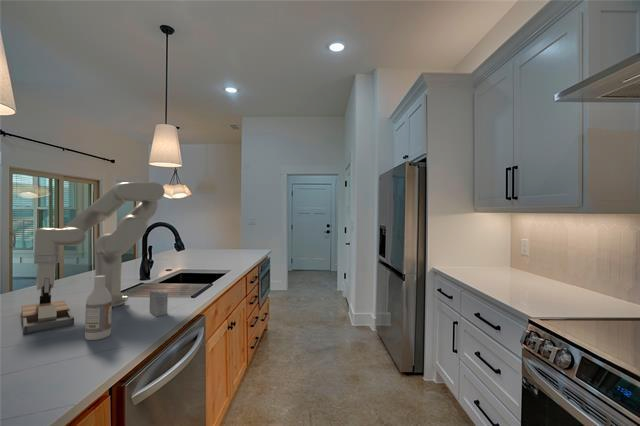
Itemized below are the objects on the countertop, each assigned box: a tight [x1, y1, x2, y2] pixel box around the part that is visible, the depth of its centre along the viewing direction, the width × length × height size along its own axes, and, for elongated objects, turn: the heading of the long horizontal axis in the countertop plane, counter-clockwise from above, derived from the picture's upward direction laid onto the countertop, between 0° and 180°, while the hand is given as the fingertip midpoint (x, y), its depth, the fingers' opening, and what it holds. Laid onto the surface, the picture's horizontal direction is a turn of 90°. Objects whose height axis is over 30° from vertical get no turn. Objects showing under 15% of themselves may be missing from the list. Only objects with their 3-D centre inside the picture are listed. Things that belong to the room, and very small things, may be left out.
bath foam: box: [84, 275, 113, 341], centre depth 100 cm, size 7×7×20 cm
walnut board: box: [21, 299, 71, 324], centre depth 119 cm, size 16×13×3 cm
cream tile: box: [38, 305, 57, 322], centre depth 113 cm, size 5×5×2 cm
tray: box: [22, 310, 75, 335], centre depth 109 cm, size 12×13×2 cm
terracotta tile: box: [36, 303, 54, 313], centre depth 116 cm, size 5×5×2 cm
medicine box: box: [148, 289, 169, 317], centre depth 125 cm, size 8×4×9 cm, turn 47°
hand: (45, 305), depth 119 cm, fingers closed
